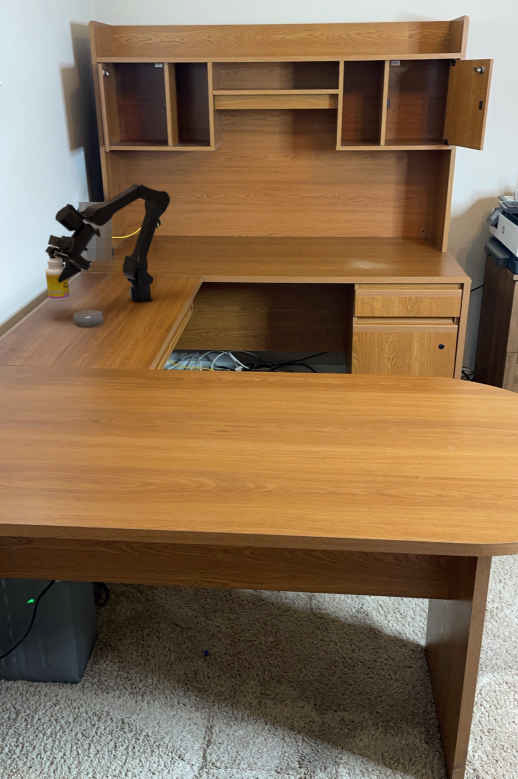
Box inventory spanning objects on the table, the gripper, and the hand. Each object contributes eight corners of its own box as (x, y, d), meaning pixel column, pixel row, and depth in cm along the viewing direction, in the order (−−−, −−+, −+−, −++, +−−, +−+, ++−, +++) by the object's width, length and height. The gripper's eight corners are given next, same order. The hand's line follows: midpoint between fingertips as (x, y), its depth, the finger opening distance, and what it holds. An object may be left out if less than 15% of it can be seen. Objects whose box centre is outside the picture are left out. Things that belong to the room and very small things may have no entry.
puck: (99, 317, 234) (98, 308, 233) (106, 325, 227) (105, 316, 225) (72, 320, 231) (71, 312, 229) (77, 329, 223) (76, 319, 222)
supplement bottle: (67, 302, 228) (62, 262, 222) (46, 302, 227) (41, 262, 222) (72, 296, 234) (67, 257, 228) (51, 296, 234) (47, 257, 228)
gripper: (47, 220, 230) (20, 260, 227) (77, 229, 217) (49, 271, 215) (71, 241, 238) (45, 279, 235) (102, 250, 226) (75, 290, 223)
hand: (53, 279), depth 227 cm, fingers closed on supplement bottle, 6 cm apart
